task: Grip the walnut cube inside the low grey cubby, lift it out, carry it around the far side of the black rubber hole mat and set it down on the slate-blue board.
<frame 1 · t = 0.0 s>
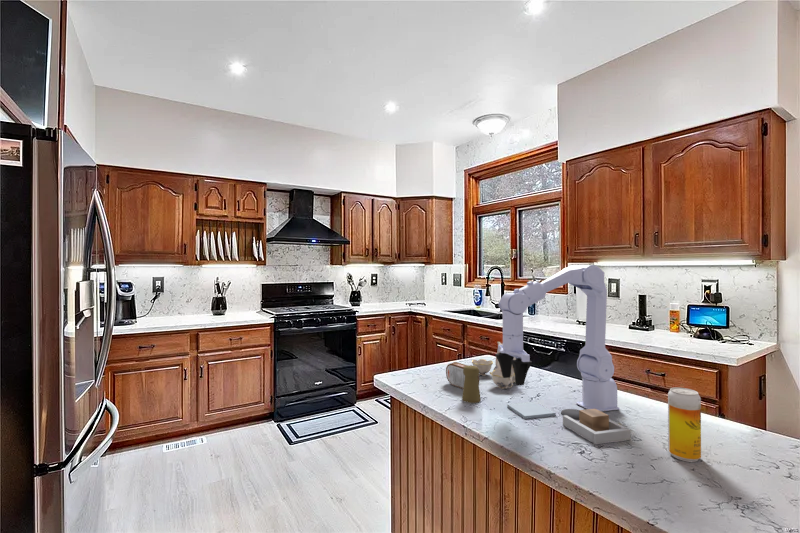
hand: (513, 381, 116), 10 cm above the countertop, tool pointing down, fingers open, 7 cm apart
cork: (471, 400, 130), on the countertop
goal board: (530, 411, 119), on the countertop
tin: (461, 388, 143), on the countertop
walnut cube: (593, 422, 105), in the grey cubby
grey cubby: (593, 431, 105), on the countertop
chinaware: (500, 380, 152), on the countertop
hole mat: (575, 414, 116), on the countertop
beer can: (684, 457, 91), on the countertop
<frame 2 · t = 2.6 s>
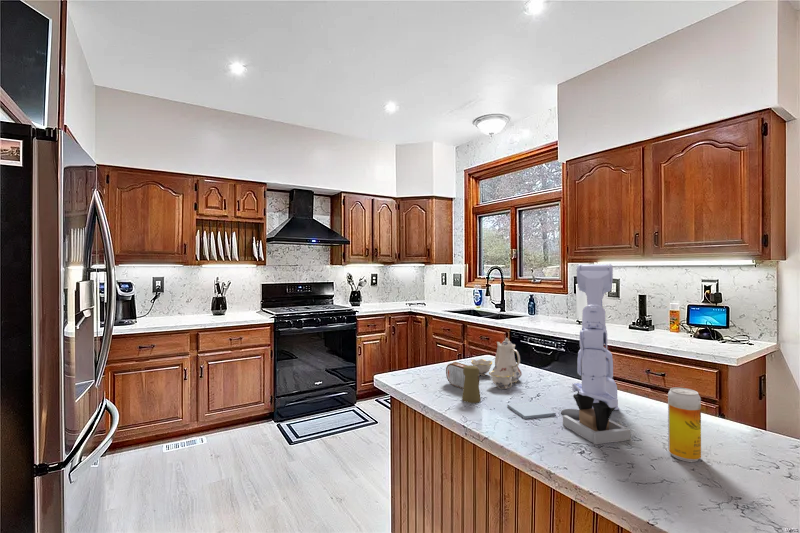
hand: (593, 425, 105), 1 cm above the countertop, tool pointing down, fingers closed on walnut cube, 5 cm apart
walnut cube: (593, 421, 105), in the grey cubby, touching gripper
everything else where it was.
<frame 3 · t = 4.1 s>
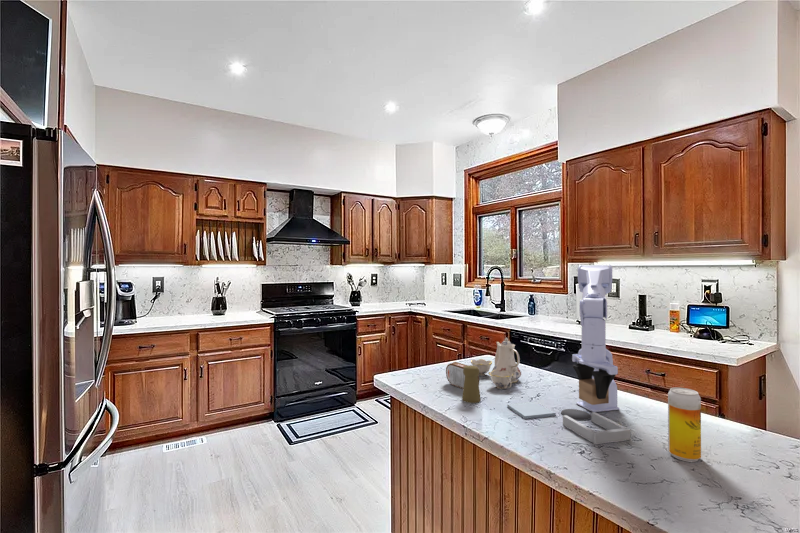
hand: (593, 394, 105), 10 cm above the countertop, tool pointing down, fingers closed on walnut cube, 5 cm apart
walnut cube: (593, 391, 105), point 10 cm above the countertop, touching gripper
everything else where it was.
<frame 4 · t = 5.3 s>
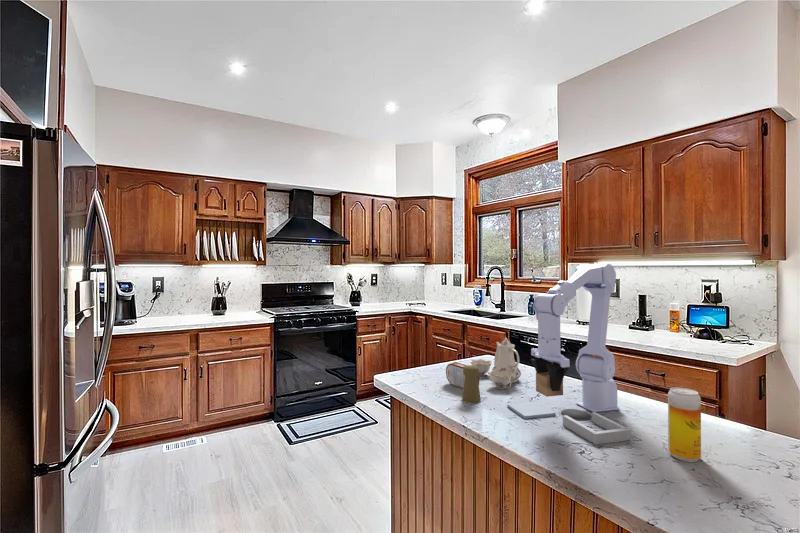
hand: (549, 387, 109), 10 cm above the countertop, tool pointing down, fingers closed on walnut cube, 5 cm apart
walnut cube: (549, 383, 109), point 11 cm above the countertop, touching gripper
everything else where it was.
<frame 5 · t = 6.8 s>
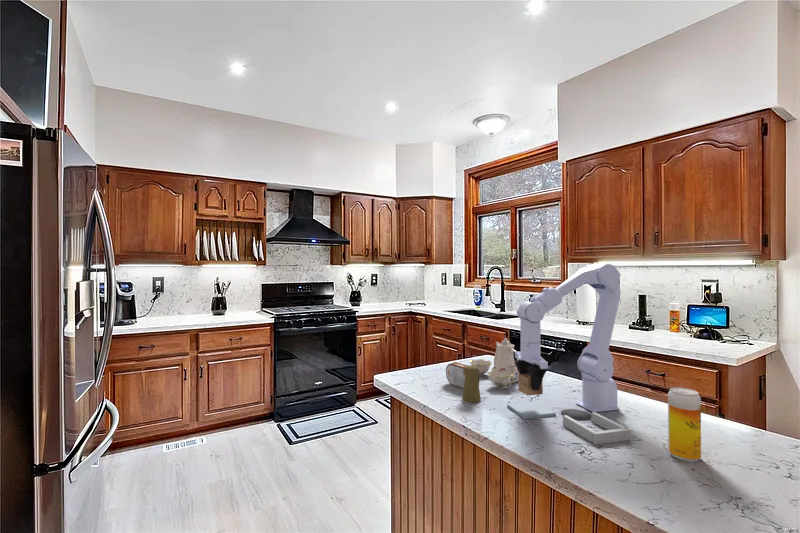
hand: (530, 387, 119), 7 cm above the countertop, tool pointing down, fingers closed on walnut cube, 5 cm apart
walnut cube: (530, 383, 119), point 8 cm above the countertop, touching gripper
everything else where it was.
when the fingers open (3 cm above the countertop, at t = 8.0 s): walnut cube stays where it is, resting on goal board.
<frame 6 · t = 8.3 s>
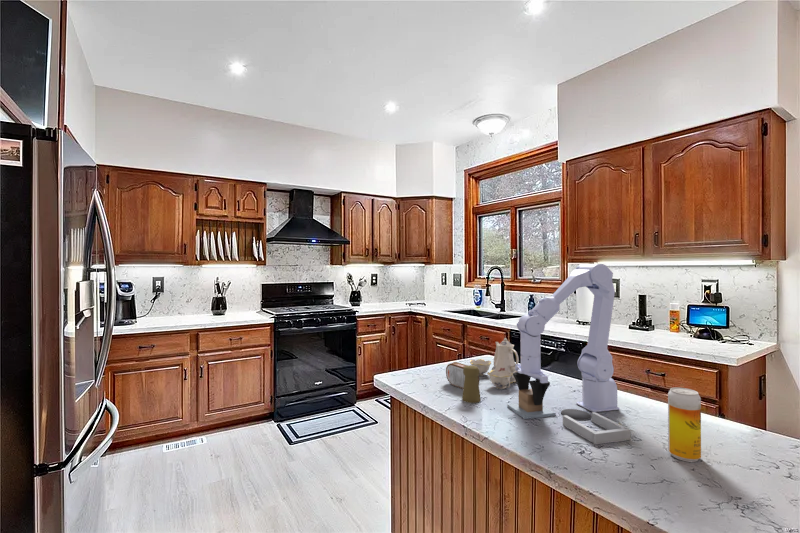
hand: (530, 400, 119), 3 cm above the countertop, tool pointing down, fingers open, 7 cm apart
walnut cube: (530, 400, 119), on the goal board, point 3 cm above the countertop
everything else where it was.
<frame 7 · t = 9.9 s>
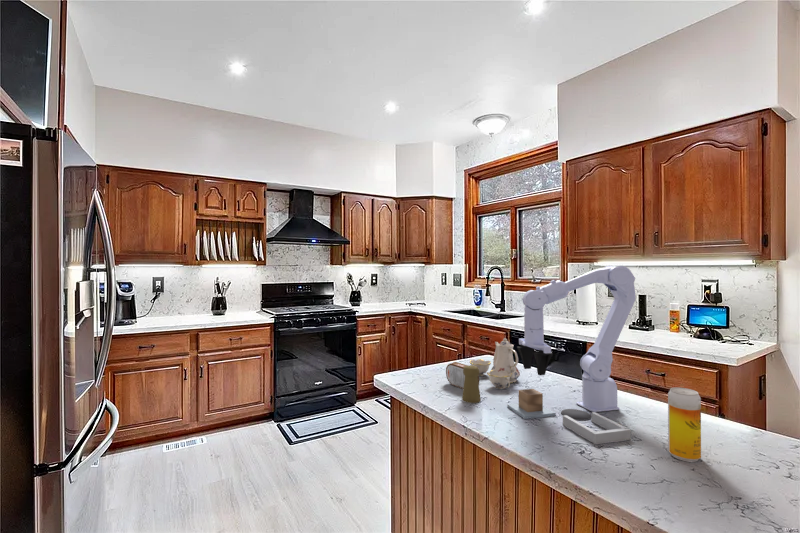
hand: (534, 371, 125), 10 cm above the countertop, tool pointing down, fingers open, 7 cm apart
nothing on the countertop moved.
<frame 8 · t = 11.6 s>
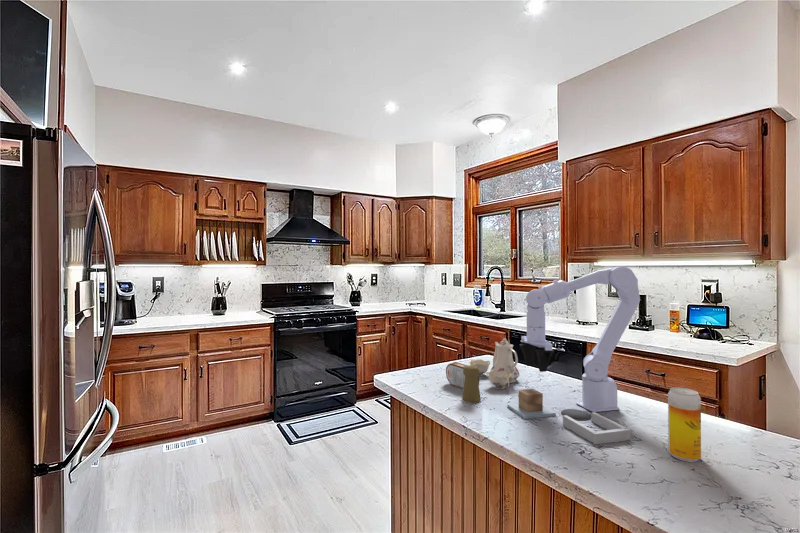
hand: (536, 368, 129), 10 cm above the countertop, tool pointing down, fingers open, 7 cm apart
at the end: walnut cube inside the target area on the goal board (0.1 cm from its centre), point 3.3 cm above the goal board's base; walnut cube tilted 0°; the gripper is holding nothing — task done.
